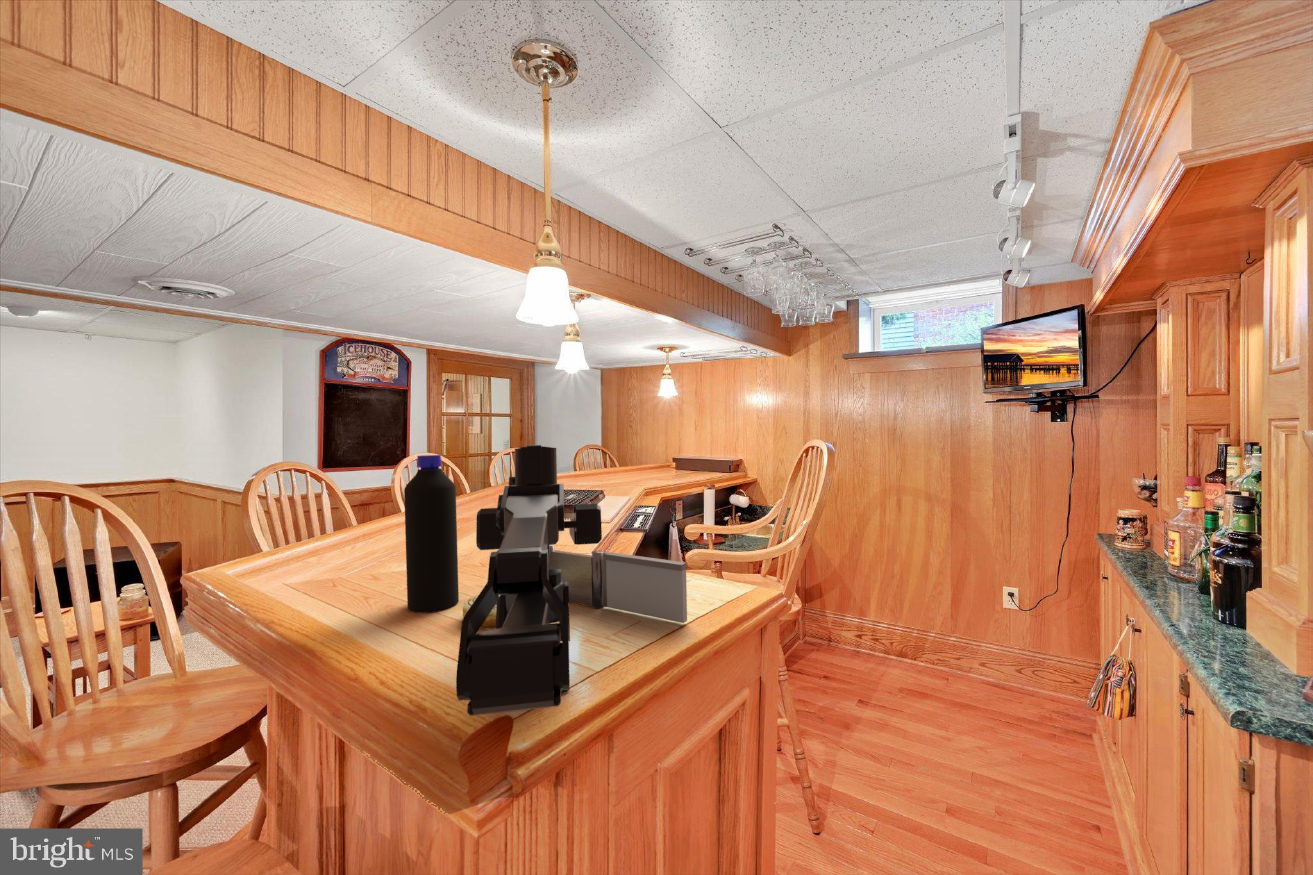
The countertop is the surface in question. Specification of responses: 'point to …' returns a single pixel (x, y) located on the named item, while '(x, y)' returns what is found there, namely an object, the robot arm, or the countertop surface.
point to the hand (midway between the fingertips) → (543, 529)
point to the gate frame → (580, 575)
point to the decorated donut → (491, 617)
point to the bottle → (431, 538)
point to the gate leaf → (645, 586)
